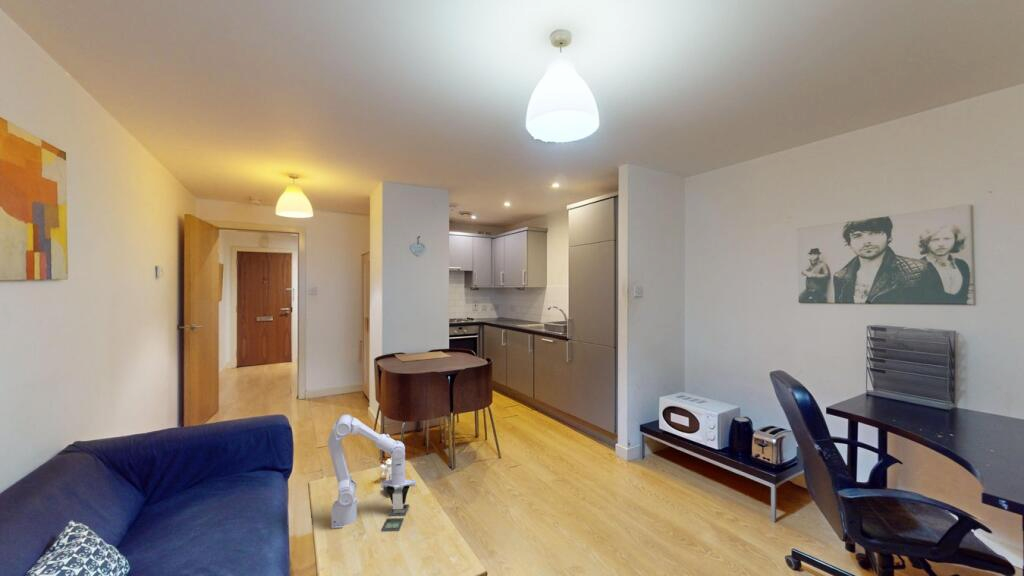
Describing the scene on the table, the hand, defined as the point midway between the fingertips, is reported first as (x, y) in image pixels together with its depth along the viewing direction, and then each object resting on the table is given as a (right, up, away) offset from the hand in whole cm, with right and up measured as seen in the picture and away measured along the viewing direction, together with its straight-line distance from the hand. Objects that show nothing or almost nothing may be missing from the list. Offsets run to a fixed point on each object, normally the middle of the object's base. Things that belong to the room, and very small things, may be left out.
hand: (398, 502), depth 171 cm
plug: (0, -2, 0) cm, 2 cm away
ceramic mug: (-8, -5, +17) cm, 19 cm away
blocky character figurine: (-13, -5, +28) cm, 31 cm away
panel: (0, -5, -5) cm, 7 cm away
